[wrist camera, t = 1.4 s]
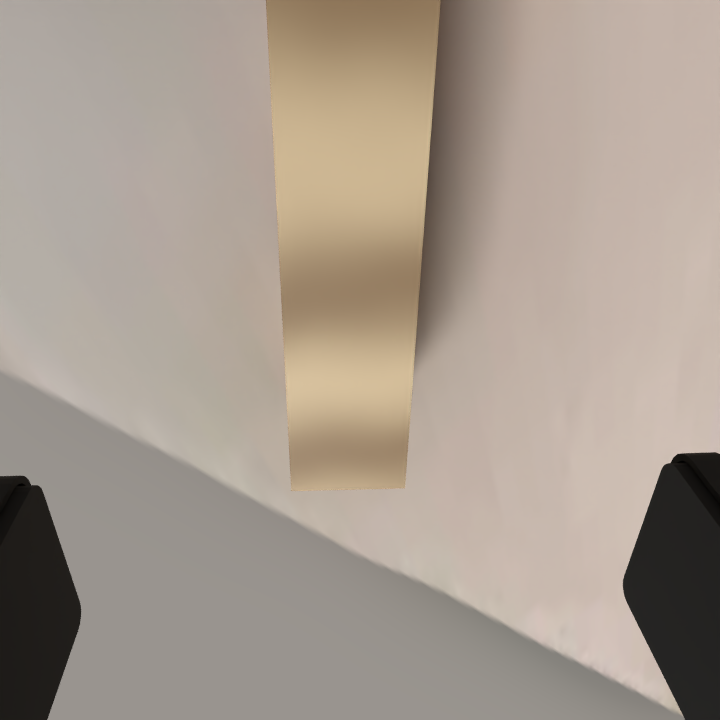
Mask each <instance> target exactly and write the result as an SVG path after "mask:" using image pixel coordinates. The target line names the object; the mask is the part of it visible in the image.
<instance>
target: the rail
mask: <svg viewBox="0 0 720 720" xmlns="http://www.w3.org/2000/svg"><path fill="white" fill-rule="evenodd" d="M440 2H441V0H266V10H267V29H268V49H269V68H270V87H271V107H272V126H273V145H274V165H275V184H276V203H277V223H278V242H279V262H280V281H281V300H282V320H283V339H284V358H285V378H286V397H287V416H288V436H289V455H290V474H291V491H314V490H354V489H395V488H405V480H406V466H407V452H408V439H409V425H410V412H411V398H412V384H413V371H414V357H415V343H416V330H417V316H418V302H419V289H420V275H421V261H422V248H423V234H424V220H425V207H426V193H427V179H428V166H429V152H430V139H431V125H432V111H433V98H434V84H435V70H436V57H437V43H438V29H439V16H440Z"/></svg>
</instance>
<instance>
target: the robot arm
mask: <svg viewBox="0 0 720 720" xmlns="http://www.w3.org/2000/svg"><path fill="white" fill-rule="evenodd" d="M623 590H624V595H625V599H626V601H627V604H628V606H629V608H630V610H631V612H632V614H633V616H634V618H635V620H636V622H637V624H638V626H639V628H640V630H641V632H642V634H643V636H644V638H645V640H646V642H647V644H648V646H649V648H650V650H651V652H652V654H653V656H654V658H655V660H656V662H657V664H658V666H659V668H660V670H661V672H662V674H663V676H664V678H665V680H666V682H667V684H668V686H669V688H670V690H671V692H672V694H673V696H674V698H675V700H676V702H677V704H678V706H679V708H680V710H681V712H682V714H683V716H684V718H685V720H720V454H718V453H716V452H714V453H684V454H677V455H676V456H675V457H674V458H673V460H672V462H671V463H669V464H666V465H664V466H663V468H662V470H661V473H660V475H659V478H658V481H657V484H656V487H655V490H654V493H653V495H652V498H651V501H650V504H649V507H648V510H647V513H646V515H645V518H644V521H643V524H642V527H641V530H640V533H639V535H638V538H637V541H636V544H635V547H634V550H633V553H632V555H631V558H630V561H629V564H628V567H627V570H626V573H625V575H624V579H623ZM80 619H81V605H80V601H79V598H78V595H77V592H76V589H75V586H74V583H73V581H72V577H71V574H70V571H69V568H68V565H67V562H66V559H65V557H64V553H63V550H62V548H61V544H60V542H59V538H58V536H57V532H56V530H55V526H54V524H53V520H52V517H51V515H50V512H49V509H48V506H47V503H46V500H45V497H44V494H43V491H42V489H41V488H40V487H39V486H37V485H32V486H31V484H30V482H29V480H28V479H27V478H26V477H25V476H0V720H47V719H48V716H49V713H50V709H51V707H52V704H53V701H54V698H55V695H56V693H57V690H58V687H59V684H60V681H61V678H62V675H63V672H64V670H65V667H66V664H67V661H68V658H69V655H70V652H71V649H72V646H73V644H74V641H75V638H76V635H77V632H78V629H79V625H80Z"/></svg>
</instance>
